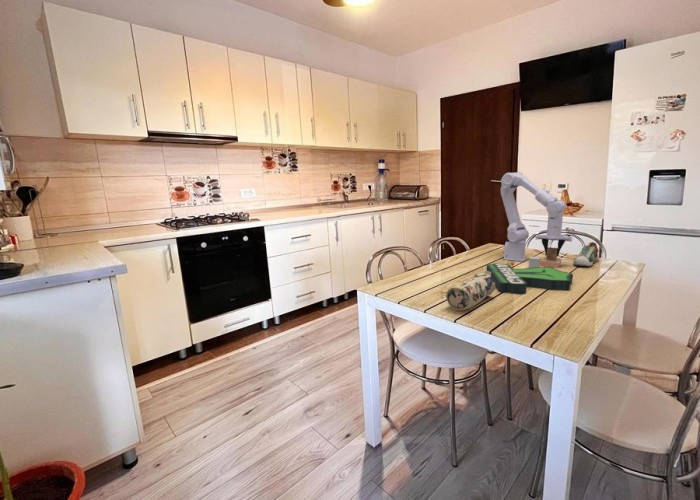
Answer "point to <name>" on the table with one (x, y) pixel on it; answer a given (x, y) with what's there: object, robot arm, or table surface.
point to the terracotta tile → (551, 263)
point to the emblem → (528, 278)
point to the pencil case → (470, 291)
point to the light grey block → (534, 262)
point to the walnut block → (551, 253)
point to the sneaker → (587, 255)
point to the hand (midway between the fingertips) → (551, 255)
